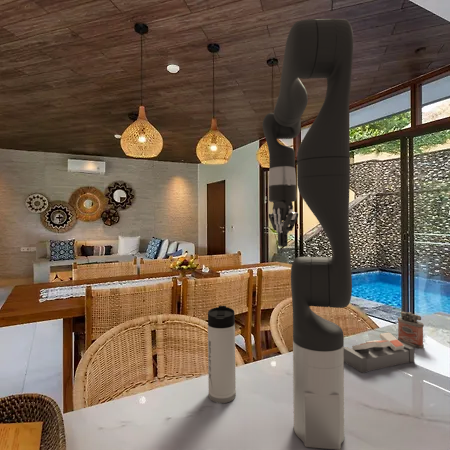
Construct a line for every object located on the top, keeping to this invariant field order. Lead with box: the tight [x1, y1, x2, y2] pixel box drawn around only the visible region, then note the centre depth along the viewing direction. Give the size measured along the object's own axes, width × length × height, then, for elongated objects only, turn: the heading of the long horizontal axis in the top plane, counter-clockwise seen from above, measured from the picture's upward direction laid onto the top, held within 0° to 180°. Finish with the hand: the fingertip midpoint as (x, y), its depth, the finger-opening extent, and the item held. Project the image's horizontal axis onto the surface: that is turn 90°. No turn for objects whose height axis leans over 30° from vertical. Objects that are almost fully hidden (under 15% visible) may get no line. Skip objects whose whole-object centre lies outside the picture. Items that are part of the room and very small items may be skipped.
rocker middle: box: [365, 339, 391, 347], centre depth 87 cm, size 3×6×1 cm, turn 19°
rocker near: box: [351, 341, 377, 350], centre depth 86 cm, size 3×6×1 cm, turn 19°
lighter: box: [397, 311, 425, 350], centre depth 99 cm, size 8×3×10 cm, turn 25°
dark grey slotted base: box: [344, 343, 415, 373], centre depth 87 cm, size 18×7×4 cm, turn 109°
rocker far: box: [378, 331, 404, 351], centre depth 89 cm, size 3×6×1 cm, turn 19°
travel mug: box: [207, 305, 237, 404], centre depth 71 cm, size 6×7×20 cm
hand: (282, 246), depth 87 cm, fingers closed
